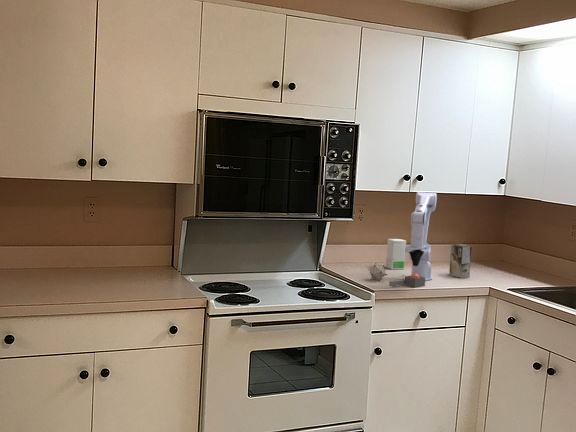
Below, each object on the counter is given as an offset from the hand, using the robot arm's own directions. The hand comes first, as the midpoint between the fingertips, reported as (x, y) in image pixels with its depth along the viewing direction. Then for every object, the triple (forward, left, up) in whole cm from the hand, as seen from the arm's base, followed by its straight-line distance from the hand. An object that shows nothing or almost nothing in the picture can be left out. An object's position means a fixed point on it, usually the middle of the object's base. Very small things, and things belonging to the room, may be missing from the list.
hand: (415, 265), depth 308 cm
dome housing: (0, 0, -9) cm, 9 cm away
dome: (0, 0, -9) cm, 9 cm away
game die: (+9, -16, -10) cm, 21 cm away
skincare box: (-21, -33, -10) cm, 41 cm away
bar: (+9, -3, -9) cm, 13 cm away
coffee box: (-38, -4, -10) cm, 40 cm away
